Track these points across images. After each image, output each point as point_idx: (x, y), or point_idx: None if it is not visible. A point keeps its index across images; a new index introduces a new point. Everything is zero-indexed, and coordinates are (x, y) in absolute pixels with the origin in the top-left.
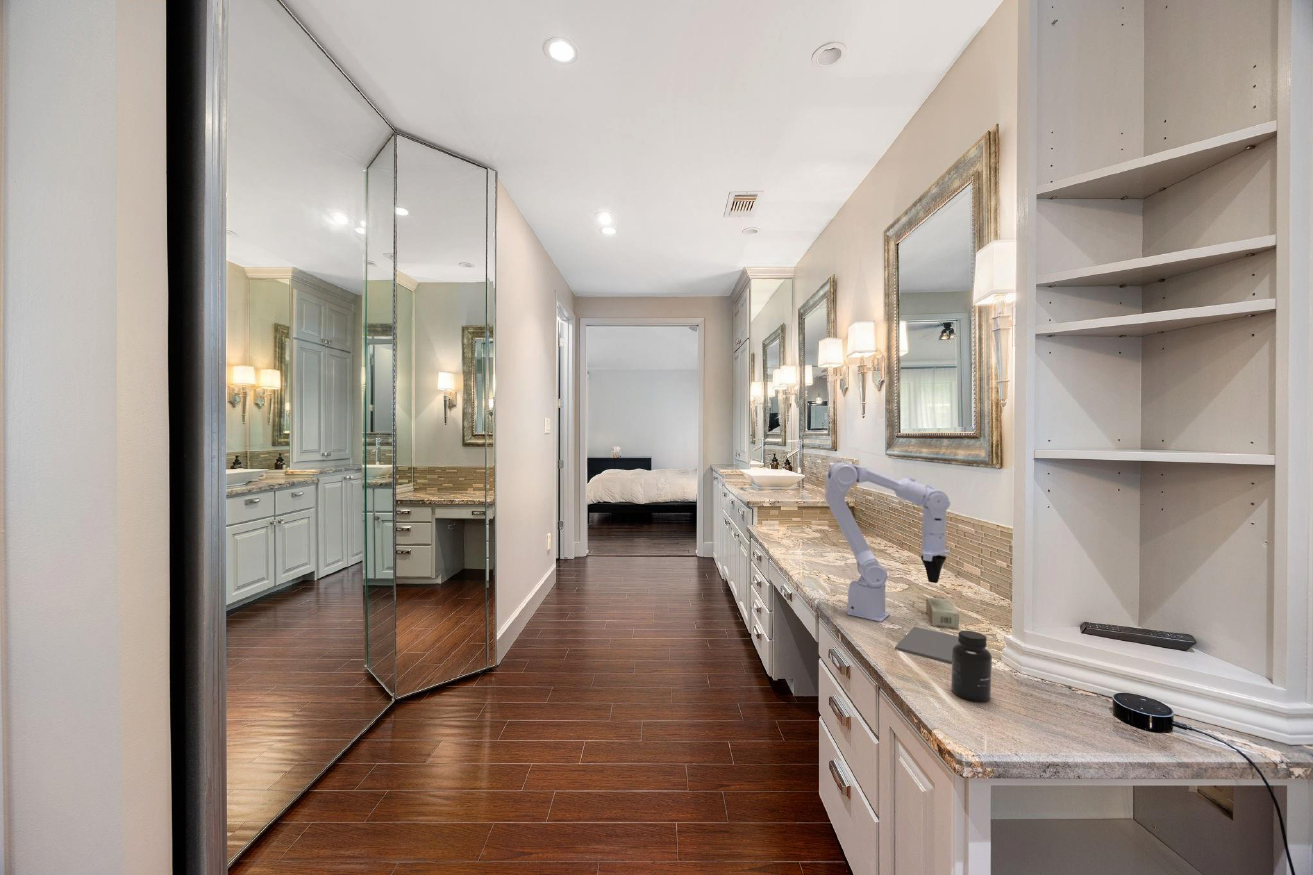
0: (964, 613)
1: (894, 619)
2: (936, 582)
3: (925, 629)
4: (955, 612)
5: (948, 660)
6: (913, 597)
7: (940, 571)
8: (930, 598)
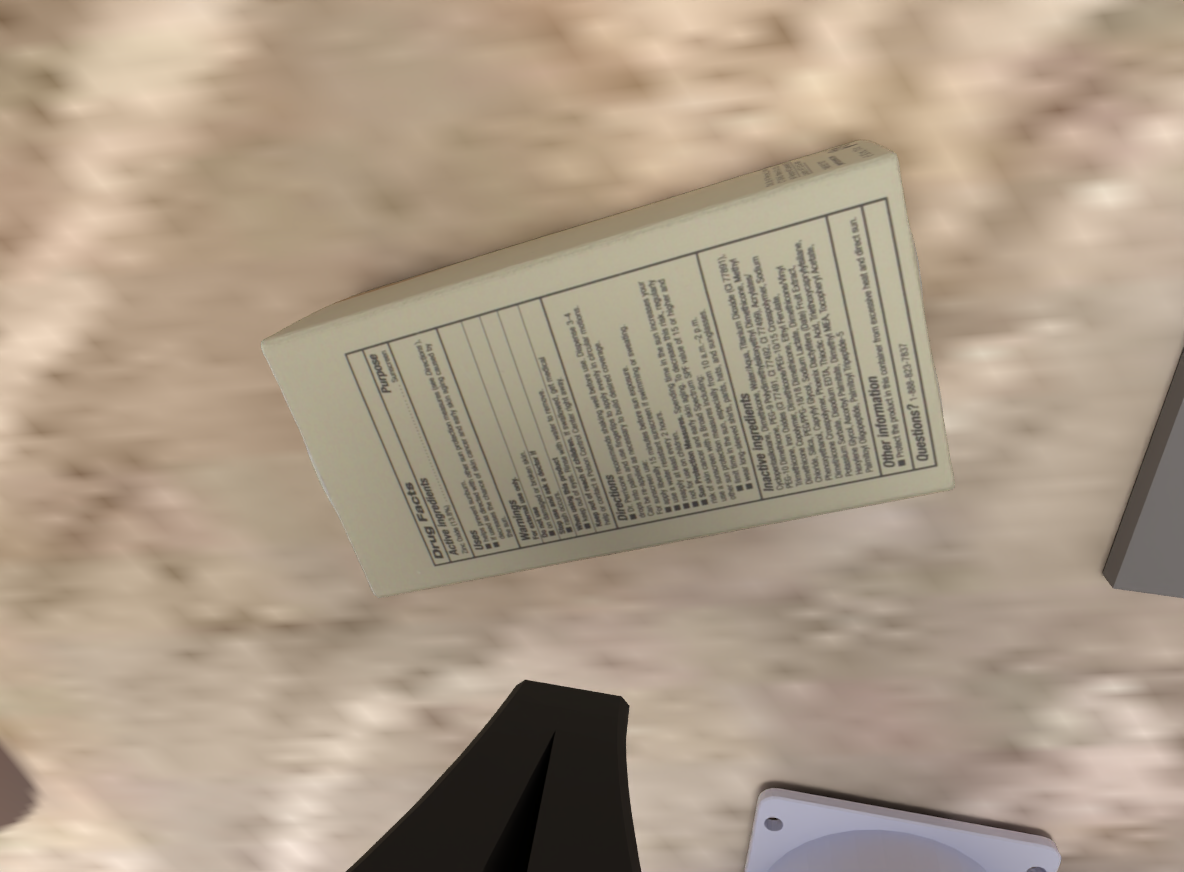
0: (195, 148)
1: (879, 741)
2: (628, 710)
3: (1173, 479)
4: (877, 205)
5: None
6: (85, 635)
7: (401, 848)
8: (393, 557)
